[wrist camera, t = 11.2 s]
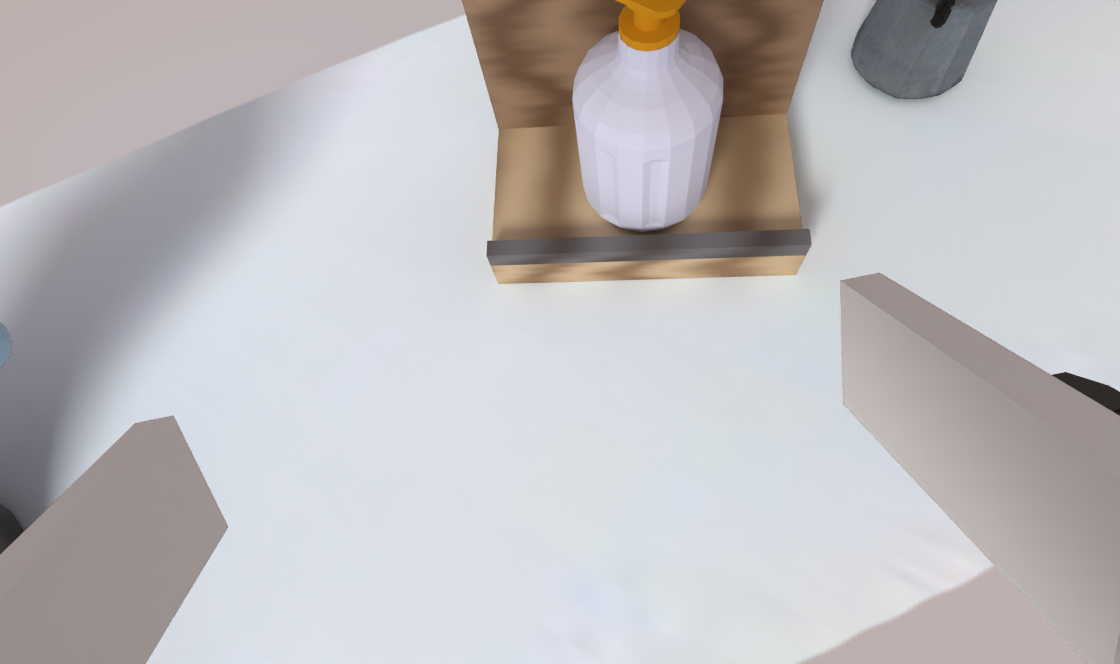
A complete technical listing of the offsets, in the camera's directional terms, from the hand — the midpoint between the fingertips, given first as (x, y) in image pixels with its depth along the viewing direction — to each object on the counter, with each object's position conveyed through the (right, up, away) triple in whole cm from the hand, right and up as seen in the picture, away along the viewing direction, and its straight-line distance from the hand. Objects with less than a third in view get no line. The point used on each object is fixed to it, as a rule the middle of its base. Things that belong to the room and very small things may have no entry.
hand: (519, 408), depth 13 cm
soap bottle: (+7, +13, +36) cm, 39 cm away
